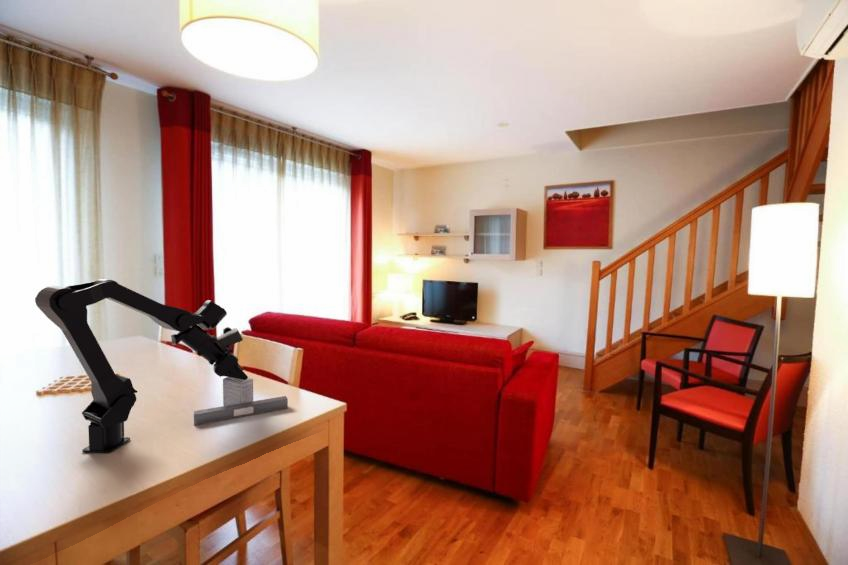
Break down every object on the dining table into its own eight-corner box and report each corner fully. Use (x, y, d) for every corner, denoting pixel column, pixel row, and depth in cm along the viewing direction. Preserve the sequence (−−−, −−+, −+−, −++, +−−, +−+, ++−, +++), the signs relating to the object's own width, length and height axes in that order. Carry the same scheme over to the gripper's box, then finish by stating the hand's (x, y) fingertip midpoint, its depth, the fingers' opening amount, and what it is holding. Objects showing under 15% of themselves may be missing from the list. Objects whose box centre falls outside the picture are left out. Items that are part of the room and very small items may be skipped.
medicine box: (254, 406, 118) (253, 378, 117) (241, 412, 114) (241, 382, 113) (235, 401, 121) (235, 374, 120) (222, 406, 117) (222, 378, 116)
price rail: (194, 426, 104) (194, 415, 104) (193, 421, 106) (193, 411, 106) (287, 408, 117) (287, 399, 117) (285, 405, 119) (285, 395, 119)
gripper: (228, 326, 105) (271, 361, 112) (220, 315, 121) (258, 347, 128) (195, 358, 102) (241, 393, 109) (190, 343, 117) (231, 374, 124)
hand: (244, 374), depth 118 cm, fingers open, 8 cm apart
